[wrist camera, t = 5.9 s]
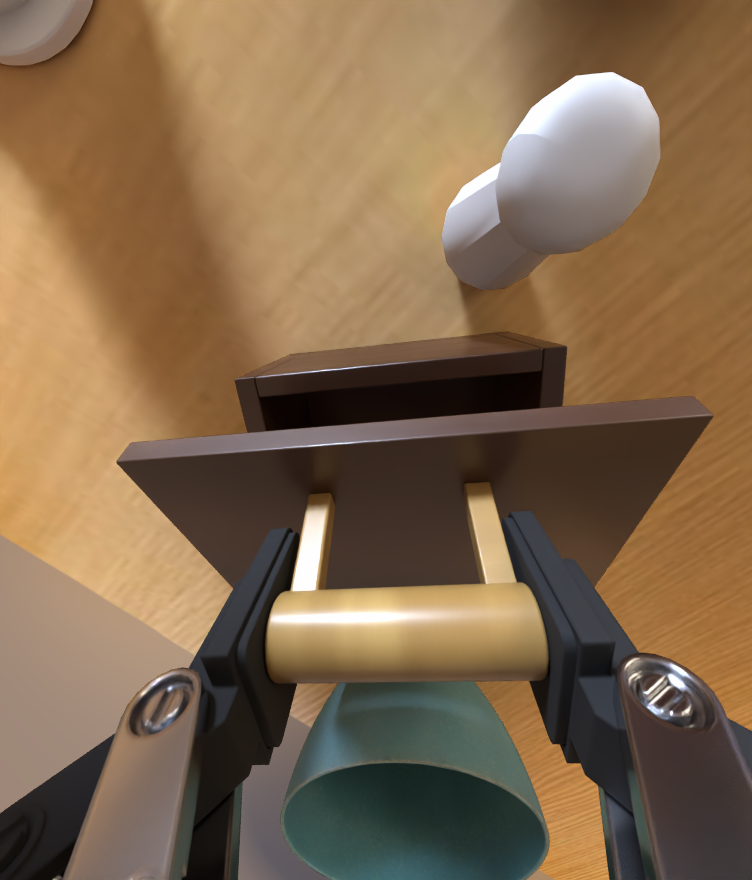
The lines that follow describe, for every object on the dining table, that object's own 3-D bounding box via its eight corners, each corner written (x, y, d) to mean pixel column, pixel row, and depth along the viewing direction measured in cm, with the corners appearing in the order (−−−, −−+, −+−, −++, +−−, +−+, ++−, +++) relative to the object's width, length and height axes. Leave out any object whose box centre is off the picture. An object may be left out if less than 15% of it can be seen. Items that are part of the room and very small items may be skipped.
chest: (289, 354, 25) (233, 379, 16) (507, 331, 23) (567, 345, 15) (327, 551, 31) (299, 643, 22) (502, 542, 29) (544, 637, 21)
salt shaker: (513, 162, 20) (684, -56, 8) (548, 259, 22) (735, 201, 10) (421, 222, 21) (449, 112, 9) (460, 309, 23) (529, 312, 11)
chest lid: (129, 441, 10) (-32, 654, 6) (693, 394, 9) (949, 634, 5) (299, 642, 22) (280, 757, 18) (544, 637, 21) (582, 760, 17)
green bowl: (464, 743, 39) (490, 924, 27) (304, 705, 38) (263, 875, 27) (529, 627, 32) (600, 802, 21) (337, 580, 32) (303, 733, 20)
